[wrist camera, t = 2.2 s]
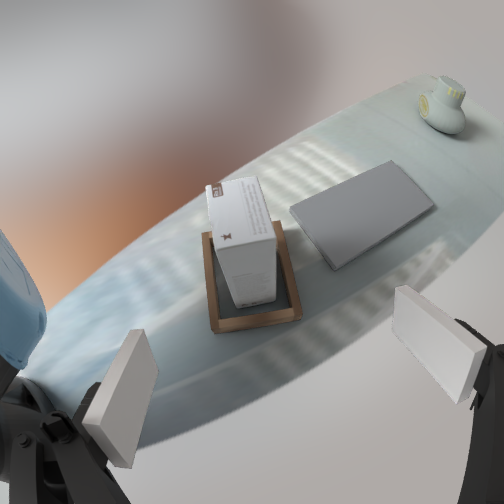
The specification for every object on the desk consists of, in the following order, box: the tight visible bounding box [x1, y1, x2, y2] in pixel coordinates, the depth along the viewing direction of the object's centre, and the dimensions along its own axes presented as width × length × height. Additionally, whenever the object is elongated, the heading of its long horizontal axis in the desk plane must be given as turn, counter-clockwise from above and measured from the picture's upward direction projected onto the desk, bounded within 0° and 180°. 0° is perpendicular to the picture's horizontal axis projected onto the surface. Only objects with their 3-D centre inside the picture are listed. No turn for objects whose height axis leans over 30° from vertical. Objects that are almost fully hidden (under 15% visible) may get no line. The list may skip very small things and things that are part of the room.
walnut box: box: [202, 220, 303, 334], centre depth 30 cm, size 9×11×2 cm
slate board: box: [290, 160, 434, 271], centre depth 34 cm, size 18×9×1 cm, turn 119°
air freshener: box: [418, 76, 466, 134], centre depth 40 cm, size 11×8×10 cm
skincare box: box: [206, 176, 277, 309], centre depth 25 cm, size 6×4×12 cm
